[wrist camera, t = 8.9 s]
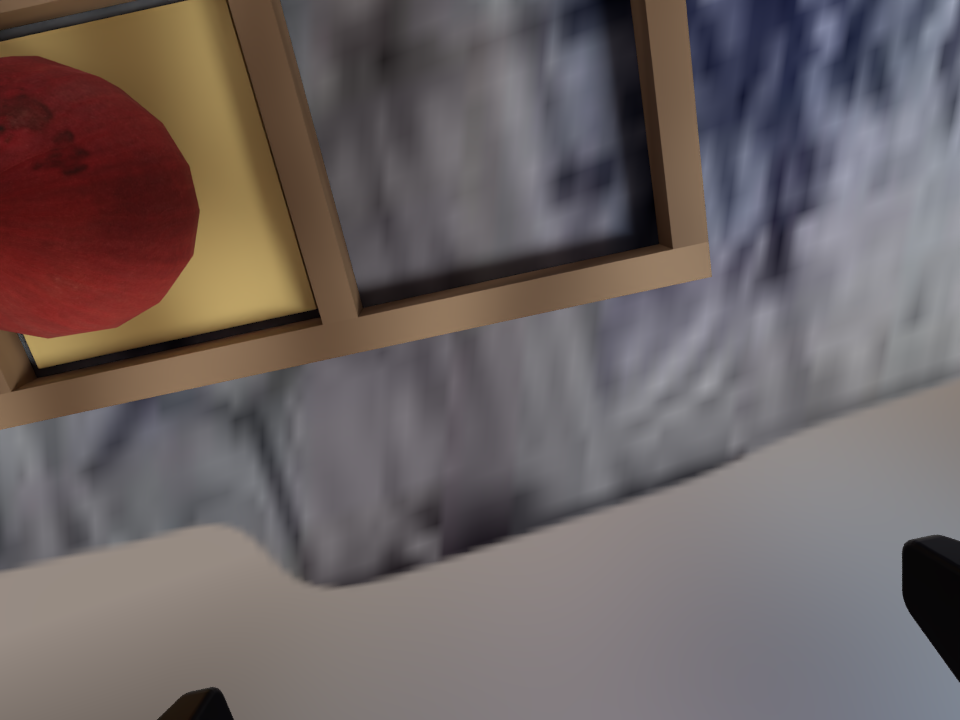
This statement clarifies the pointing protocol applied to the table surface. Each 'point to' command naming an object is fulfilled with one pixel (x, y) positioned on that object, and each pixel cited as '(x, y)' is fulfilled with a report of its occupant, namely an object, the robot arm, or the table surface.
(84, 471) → the table surface
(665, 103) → the wooden divided frame
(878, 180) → the table surface
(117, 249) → the red pomegranate
